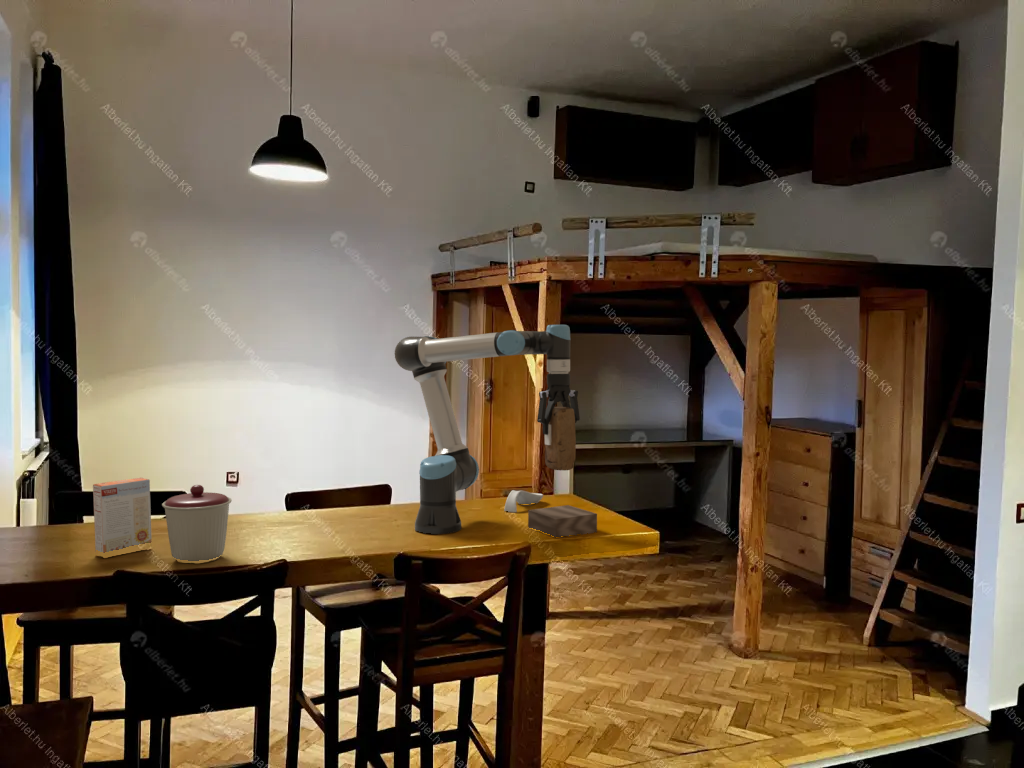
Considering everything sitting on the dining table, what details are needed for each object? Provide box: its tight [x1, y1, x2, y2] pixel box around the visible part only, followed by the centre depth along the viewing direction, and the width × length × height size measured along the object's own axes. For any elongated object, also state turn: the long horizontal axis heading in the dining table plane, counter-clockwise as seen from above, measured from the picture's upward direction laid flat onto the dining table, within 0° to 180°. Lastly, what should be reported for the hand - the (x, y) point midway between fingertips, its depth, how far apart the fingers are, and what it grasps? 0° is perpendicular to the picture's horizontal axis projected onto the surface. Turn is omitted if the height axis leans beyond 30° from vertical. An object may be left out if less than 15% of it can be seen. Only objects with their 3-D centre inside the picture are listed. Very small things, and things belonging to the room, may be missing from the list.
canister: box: [161, 484, 232, 561], centre depth 226 cm, size 18×18×21 cm
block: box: [543, 406, 577, 471], centre depth 261 cm, size 11×8×20 cm
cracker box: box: [92, 477, 152, 553], centre depth 233 cm, size 14×6×21 cm, turn 141°
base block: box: [527, 504, 598, 538], centre depth 263 cm, size 16×16×6 cm
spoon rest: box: [503, 489, 544, 513], centre depth 301 cm, size 24×12×7 cm, turn 159°
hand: (558, 443), depth 261 cm, fingers closed on block, 7 cm apart
